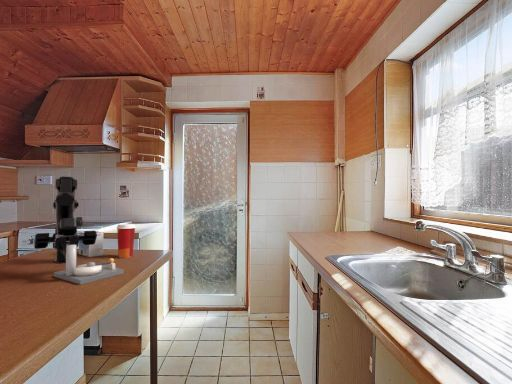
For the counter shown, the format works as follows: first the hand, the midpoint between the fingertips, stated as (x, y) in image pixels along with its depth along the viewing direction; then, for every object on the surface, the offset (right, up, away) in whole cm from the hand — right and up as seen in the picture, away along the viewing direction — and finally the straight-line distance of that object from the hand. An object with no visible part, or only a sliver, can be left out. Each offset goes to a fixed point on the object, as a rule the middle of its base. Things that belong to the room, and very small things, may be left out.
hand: (68, 258), depth 103 cm
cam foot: (+6, -5, +3) cm, 9 cm away
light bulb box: (-13, -7, +38) cm, 41 cm away
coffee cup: (+4, -7, +35) cm, 36 cm away
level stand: (+5, -7, +5) cm, 10 cm away
